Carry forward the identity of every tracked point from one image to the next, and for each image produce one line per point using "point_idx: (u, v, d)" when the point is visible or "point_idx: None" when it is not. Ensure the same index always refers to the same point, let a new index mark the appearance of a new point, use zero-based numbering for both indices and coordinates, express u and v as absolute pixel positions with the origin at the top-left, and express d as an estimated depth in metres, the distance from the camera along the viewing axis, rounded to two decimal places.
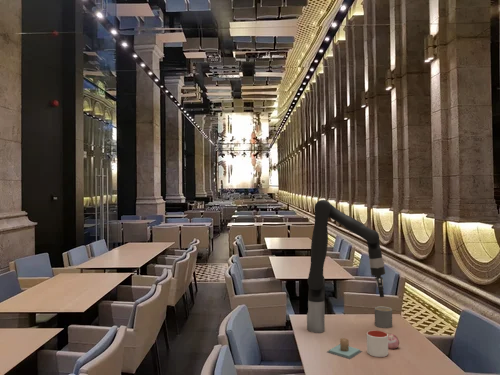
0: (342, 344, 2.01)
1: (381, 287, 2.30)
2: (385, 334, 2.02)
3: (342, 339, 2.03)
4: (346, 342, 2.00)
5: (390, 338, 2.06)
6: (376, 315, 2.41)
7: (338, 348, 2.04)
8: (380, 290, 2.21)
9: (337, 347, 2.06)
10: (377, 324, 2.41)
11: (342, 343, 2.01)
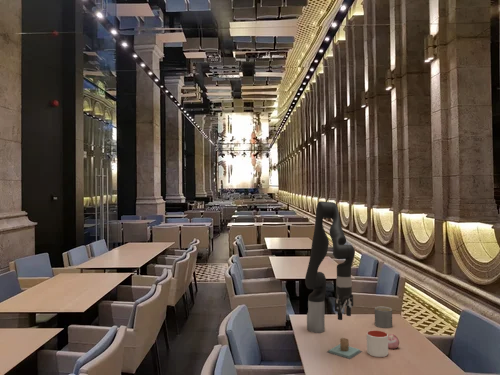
0: (342, 344, 2.01)
1: (349, 309, 2.05)
2: (385, 334, 2.02)
3: (342, 339, 2.03)
4: (346, 342, 2.00)
5: (390, 338, 2.06)
6: (376, 315, 2.41)
7: (338, 348, 2.04)
8: (338, 312, 1.99)
9: (337, 347, 2.06)
10: (377, 324, 2.41)
11: (342, 343, 2.01)
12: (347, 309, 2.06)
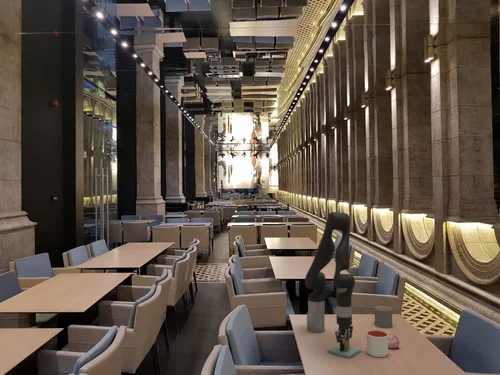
0: None
1: None
2: (385, 334, 2.02)
3: (342, 339, 2.03)
4: (346, 342, 2.00)
5: (390, 338, 2.06)
6: (376, 315, 2.41)
7: (338, 348, 2.04)
8: (340, 343, 2.00)
9: (337, 347, 2.06)
10: (377, 324, 2.41)
11: None
12: None
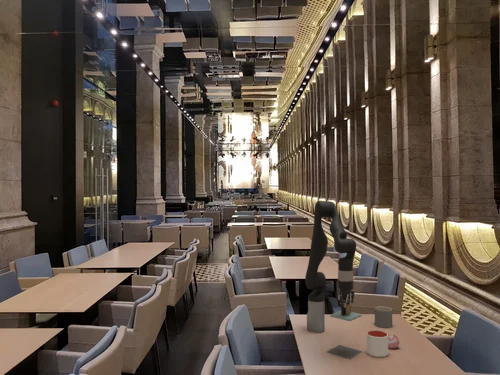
0: None
1: None
2: (385, 334, 2.02)
3: None
4: (347, 306, 2.00)
5: (390, 338, 2.06)
6: (376, 315, 2.41)
7: (339, 313, 2.04)
8: (341, 307, 2.00)
9: (339, 312, 2.06)
10: (377, 324, 2.41)
11: None
12: None
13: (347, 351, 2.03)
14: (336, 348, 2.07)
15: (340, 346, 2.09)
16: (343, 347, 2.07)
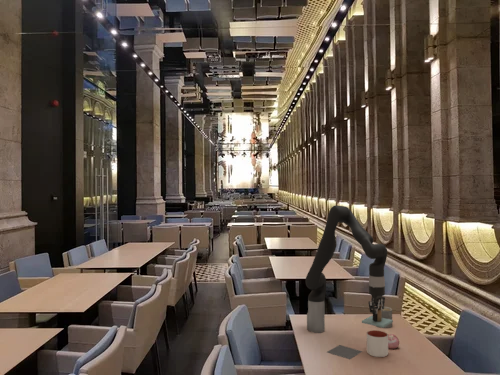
0: None
1: None
2: (385, 334, 2.02)
3: None
4: (379, 312, 1.99)
5: (390, 338, 2.06)
6: None
7: (370, 319, 2.02)
8: (373, 313, 1.98)
9: (370, 318, 2.04)
10: None
11: None
12: None
13: (347, 351, 2.03)
14: (336, 348, 2.07)
15: (340, 346, 2.09)
16: (343, 347, 2.07)
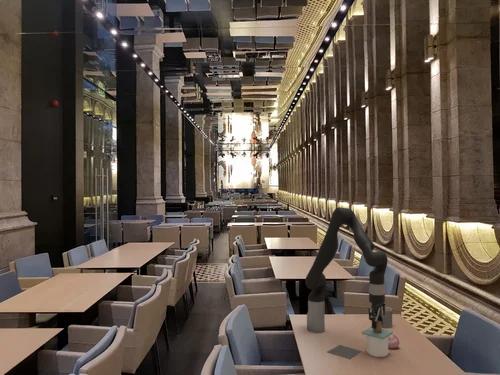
0: None
1: (381, 319, 2.02)
2: None
3: None
4: (379, 324, 1.98)
5: (390, 338, 2.06)
6: None
7: (371, 330, 2.02)
8: (372, 320, 1.97)
9: (370, 329, 2.04)
10: None
11: None
12: (379, 318, 2.03)
13: (347, 351, 2.03)
14: (336, 348, 2.07)
15: (340, 346, 2.09)
16: (343, 347, 2.07)
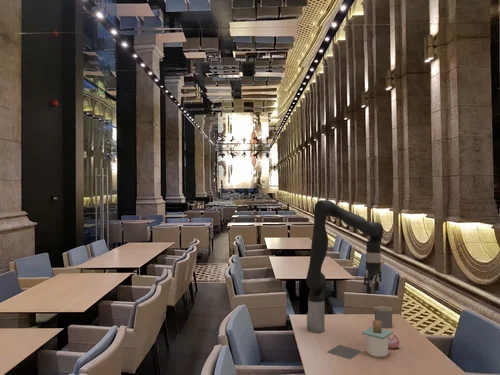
0: (375, 326, 1.99)
1: (377, 284, 2.14)
2: None
3: (375, 321, 2.01)
4: (379, 324, 1.99)
5: (390, 338, 2.06)
6: (376, 315, 2.41)
7: (371, 330, 2.02)
8: (367, 286, 2.08)
9: (370, 329, 2.04)
10: None
11: (375, 325, 1.99)
12: (375, 284, 2.15)
13: (347, 351, 2.03)
14: (336, 348, 2.07)
15: (340, 346, 2.09)
16: (343, 347, 2.07)
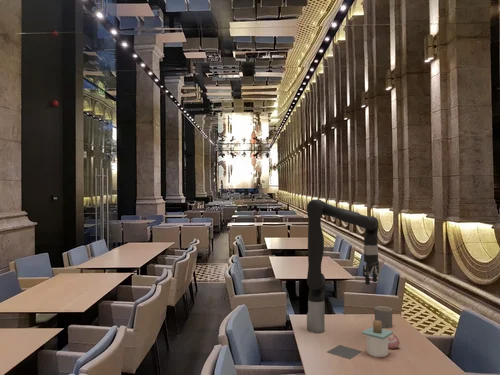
0: (375, 326, 1.99)
1: (375, 276, 2.24)
2: None
3: (375, 321, 2.01)
4: (379, 324, 1.98)
5: (390, 338, 2.06)
6: (376, 315, 2.41)
7: (371, 330, 2.02)
8: (365, 277, 2.17)
9: (370, 329, 2.04)
10: None
11: (375, 325, 1.99)
12: (373, 276, 2.24)
13: (347, 351, 2.03)
14: (336, 348, 2.07)
15: (340, 346, 2.09)
16: (343, 347, 2.07)
